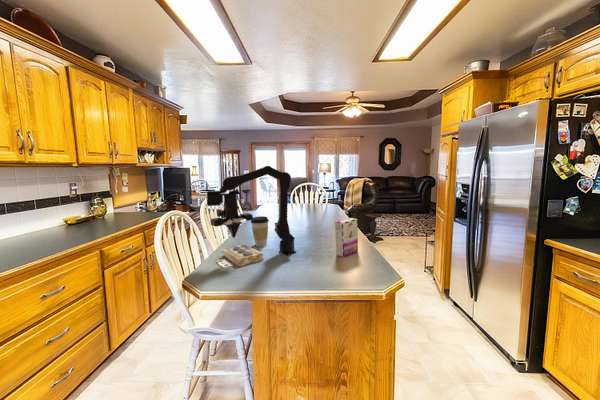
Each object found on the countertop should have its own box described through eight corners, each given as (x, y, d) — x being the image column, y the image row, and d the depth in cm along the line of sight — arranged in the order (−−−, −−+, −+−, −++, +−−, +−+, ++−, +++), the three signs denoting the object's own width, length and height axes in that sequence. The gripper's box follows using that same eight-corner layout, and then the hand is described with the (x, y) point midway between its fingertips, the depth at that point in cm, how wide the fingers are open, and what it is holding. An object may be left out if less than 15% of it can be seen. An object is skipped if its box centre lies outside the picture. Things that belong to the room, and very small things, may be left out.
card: (224, 259, 127) (224, 258, 127) (233, 265, 119) (233, 264, 119) (215, 262, 124) (214, 260, 124) (223, 268, 116) (223, 267, 116)
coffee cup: (255, 242, 154) (253, 216, 152) (271, 242, 153) (270, 216, 151) (249, 247, 145) (247, 219, 143) (267, 247, 143) (266, 219, 141)
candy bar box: (350, 249, 135) (349, 217, 133) (358, 252, 132) (358, 218, 129) (335, 255, 128) (334, 221, 126) (343, 257, 124) (342, 222, 122)
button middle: (244, 252, 131) (243, 247, 130) (246, 253, 128) (246, 248, 128) (238, 253, 129) (237, 248, 128) (241, 255, 126) (240, 249, 126)
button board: (245, 250, 139) (245, 244, 139) (263, 259, 125) (263, 253, 125) (223, 255, 132) (222, 250, 132) (239, 266, 118) (238, 259, 118)
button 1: (239, 249, 135) (238, 244, 135) (241, 250, 133) (241, 246, 132) (233, 250, 133) (233, 245, 133) (236, 252, 131) (235, 247, 130)
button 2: (249, 254, 126) (249, 249, 126) (252, 256, 124) (252, 251, 124) (243, 256, 124) (243, 251, 124) (246, 258, 122) (246, 252, 122)
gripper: (241, 200, 136) (243, 230, 138) (204, 205, 125) (207, 238, 127) (252, 202, 128) (254, 234, 130) (213, 207, 116) (217, 243, 118)
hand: (233, 237), depth 126 cm, fingers closed
